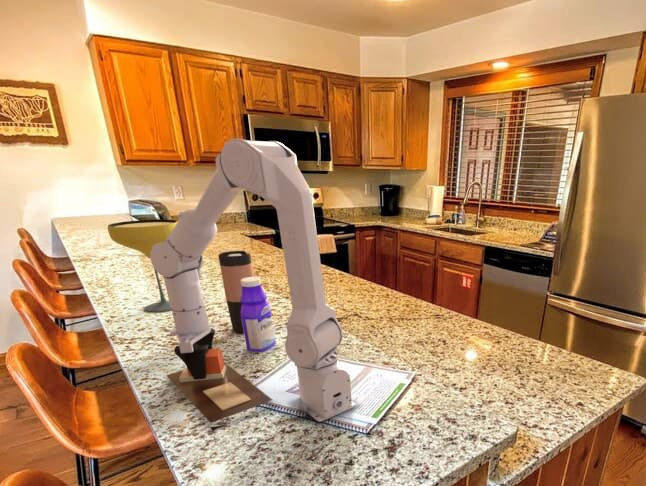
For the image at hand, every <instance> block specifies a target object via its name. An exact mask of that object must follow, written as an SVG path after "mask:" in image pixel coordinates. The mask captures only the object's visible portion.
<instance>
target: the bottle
mask: <svg viewBox="0 0 646 486" xmlns="http://www.w3.org/2000/svg"><path fill="white" fill-rule="evenodd" d="M241 286H242V295H241V298H240V301H241V302H242V307H241V320H242V325H243V330H244V334H243V336H244V341H245V347H246V350H247V351H248V352H253V353H261V352H266V351H268V350H271V349H272V348H273V347H274V346H276V343H277V340H276V335H275V330H274V329H275V328H274V323H273V317H272V315H273V314H272V309H271V305H270V304H269V303H268V301H267V299H268V296H267V294H266V293H265V292H264V290H263V287H262V282H261V278H260V277H258V276H254V277H247V278H243V279H241Z"/></svg>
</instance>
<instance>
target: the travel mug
mask: <svg viewBox="0 0 646 486" xmlns="http://www.w3.org/2000/svg"><path fill="white" fill-rule="evenodd" d="M217 257H218V261H219V267H220V272H221V278H222V284H223V289H224V295H225V300H226V305H227V309H228V313H229V318H230V322H231V328H232V331H233V333H235V334H240V335H242V334H243V335H244V330H243V325H242V320H241V307H242V302H241V301H240V298H241V295H242V286H241V279H243V278H247V277H255V274H254V268H253V262H252V256H251V252H249V253H247V252H246V251H245V250H231V251H230V250H229V251H224V252H220V253H219V254H218V256H217Z"/></svg>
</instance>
